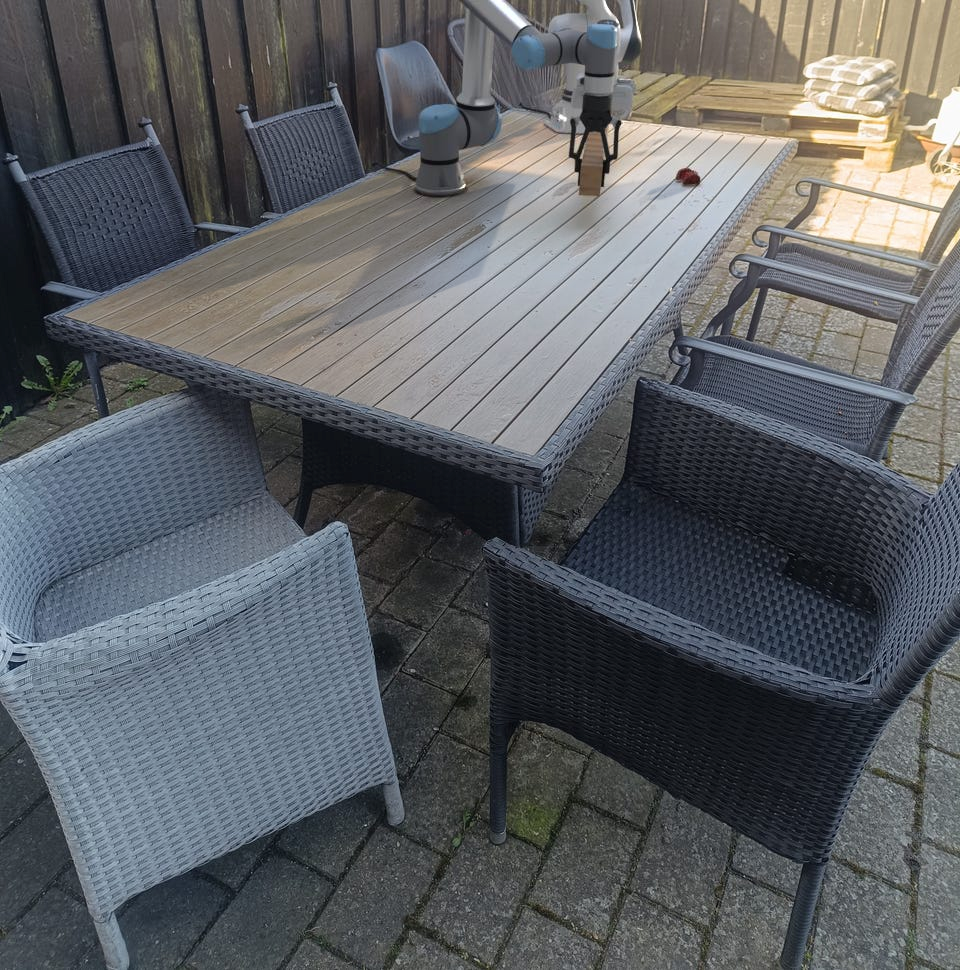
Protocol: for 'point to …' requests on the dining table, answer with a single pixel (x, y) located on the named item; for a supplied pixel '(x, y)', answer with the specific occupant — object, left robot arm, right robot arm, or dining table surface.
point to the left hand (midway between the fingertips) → (590, 184)
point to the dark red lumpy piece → (688, 176)
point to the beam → (592, 165)
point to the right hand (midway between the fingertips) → (600, 123)
